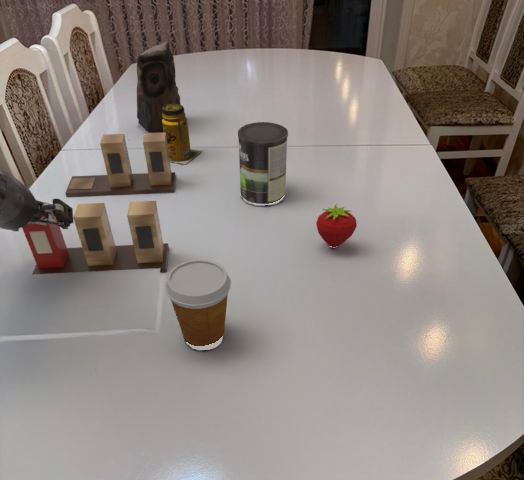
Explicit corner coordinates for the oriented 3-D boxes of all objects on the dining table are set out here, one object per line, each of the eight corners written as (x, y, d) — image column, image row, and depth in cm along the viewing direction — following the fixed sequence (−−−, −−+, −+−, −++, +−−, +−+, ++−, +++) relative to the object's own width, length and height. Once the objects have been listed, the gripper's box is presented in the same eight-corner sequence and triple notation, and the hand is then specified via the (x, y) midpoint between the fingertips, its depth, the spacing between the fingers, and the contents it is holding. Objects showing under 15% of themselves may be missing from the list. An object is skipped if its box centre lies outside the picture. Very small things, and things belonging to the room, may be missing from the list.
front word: (33, 278, 90) (11, 225, 82) (43, 253, 96) (24, 201, 88) (166, 272, 91) (157, 219, 84) (169, 247, 97) (160, 195, 89)
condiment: (160, 159, 124) (152, 109, 116) (178, 146, 130) (172, 97, 121) (184, 165, 122) (178, 114, 113) (202, 152, 127) (198, 102, 119)
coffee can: (244, 209, 107) (242, 144, 97) (236, 186, 114) (233, 124, 104) (291, 204, 108) (293, 139, 98) (280, 182, 116) (281, 119, 106)
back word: (66, 197, 111) (51, 148, 103) (73, 180, 117) (59, 132, 109) (174, 192, 112) (167, 144, 105) (175, 176, 118) (169, 129, 110)
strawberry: (353, 258, 94) (360, 210, 87) (313, 256, 95) (317, 208, 88) (352, 240, 98) (359, 194, 91) (314, 238, 99) (318, 192, 92)
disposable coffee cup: (181, 315, 83) (171, 255, 74) (237, 319, 82) (234, 259, 74) (168, 356, 76) (155, 296, 68) (229, 361, 76) (224, 300, 67)
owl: (181, 117, 144) (172, 37, 129) (188, 134, 135) (179, 51, 121) (137, 121, 141) (123, 41, 127) (142, 139, 133) (127, 55, 119)
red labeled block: (37, 269, 91) (18, 220, 83) (43, 254, 94) (25, 206, 87) (63, 267, 91) (46, 219, 84) (68, 252, 94) (52, 204, 87)
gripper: (45, 168, 72) (81, 201, 88) (-56, 172, 71) (-2, 205, 87) (48, 220, 72) (83, 244, 88) (-53, 225, 71) (1, 247, 87)
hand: (41, 224), depth 87 cm, fingers open, 8 cm apart
